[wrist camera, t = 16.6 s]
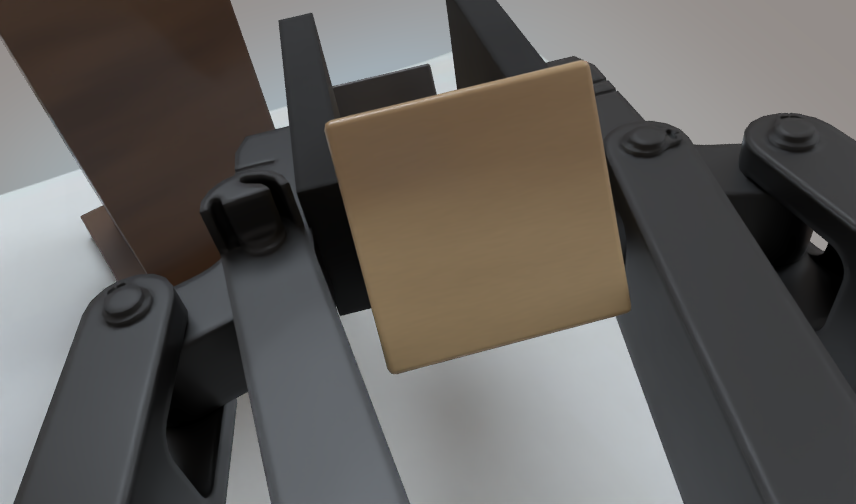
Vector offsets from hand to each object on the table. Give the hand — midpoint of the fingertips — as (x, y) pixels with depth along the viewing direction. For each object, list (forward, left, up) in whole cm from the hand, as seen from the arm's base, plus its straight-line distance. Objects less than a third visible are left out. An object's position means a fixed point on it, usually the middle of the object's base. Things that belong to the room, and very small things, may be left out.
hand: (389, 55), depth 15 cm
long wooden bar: (0, 0, -5) cm, 5 cm away
